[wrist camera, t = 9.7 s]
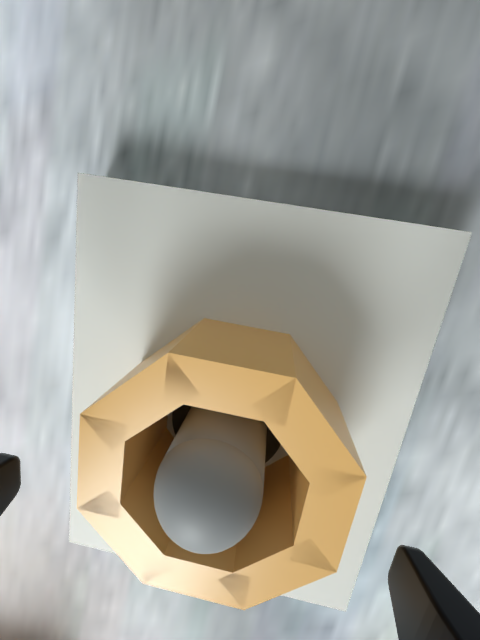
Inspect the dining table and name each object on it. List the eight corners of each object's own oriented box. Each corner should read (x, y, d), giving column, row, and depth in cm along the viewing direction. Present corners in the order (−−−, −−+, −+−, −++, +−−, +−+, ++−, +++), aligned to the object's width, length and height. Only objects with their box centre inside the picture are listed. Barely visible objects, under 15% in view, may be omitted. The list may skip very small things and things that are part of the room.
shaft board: (444, 234, 10) (674, 215, 4) (338, 573, 14) (384, 814, 8) (103, 182, 11) (-93, 108, 5) (89, 513, 15) (-36, 689, 9)
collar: (352, 345, 10) (392, 397, 6) (306, 518, 12) (318, 629, 8) (145, 306, 10) (82, 335, 7) (130, 477, 12) (74, 566, 9)
